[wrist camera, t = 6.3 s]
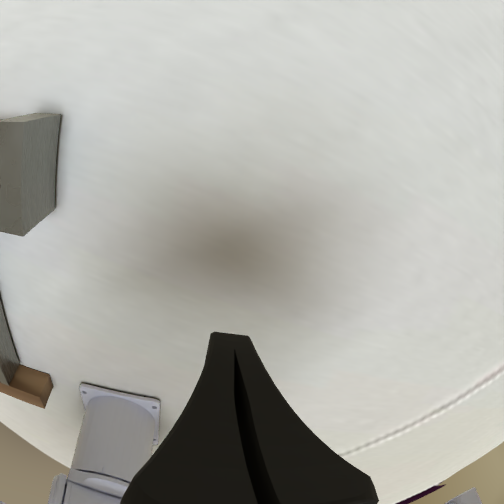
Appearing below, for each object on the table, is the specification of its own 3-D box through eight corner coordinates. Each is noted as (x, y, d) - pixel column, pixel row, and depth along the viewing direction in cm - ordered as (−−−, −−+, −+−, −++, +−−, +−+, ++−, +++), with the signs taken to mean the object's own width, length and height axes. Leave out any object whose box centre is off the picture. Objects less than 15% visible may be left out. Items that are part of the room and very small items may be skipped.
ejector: (75, 381, 24) (64, 414, 21) (8, 360, 23) (-7, 388, 19) (60, 114, 14) (24, 122, 11) (-28, 113, 13) (-66, 123, 9)
